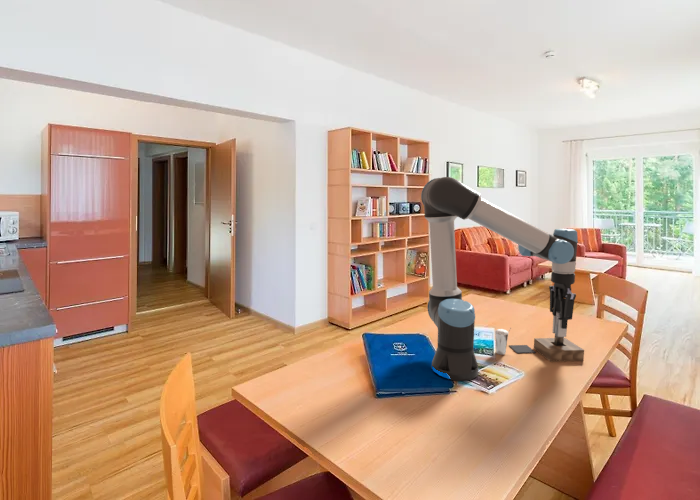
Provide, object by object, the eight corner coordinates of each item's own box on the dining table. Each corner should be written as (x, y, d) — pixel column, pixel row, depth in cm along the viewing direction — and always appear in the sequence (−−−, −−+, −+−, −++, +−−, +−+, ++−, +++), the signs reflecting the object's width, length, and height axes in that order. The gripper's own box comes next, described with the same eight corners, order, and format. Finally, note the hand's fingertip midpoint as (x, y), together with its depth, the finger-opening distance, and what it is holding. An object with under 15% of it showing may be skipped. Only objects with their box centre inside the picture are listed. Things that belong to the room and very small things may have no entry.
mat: (517, 353, 148) (517, 352, 148) (509, 346, 155) (509, 345, 155) (535, 353, 148) (535, 352, 148) (526, 345, 155) (526, 344, 155)
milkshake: (510, 356, 145) (512, 329, 144) (495, 355, 146) (496, 329, 145) (508, 351, 150) (509, 325, 148) (493, 350, 151) (494, 325, 149)
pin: (556, 351, 145) (559, 314, 143) (552, 347, 148) (554, 311, 146) (564, 350, 145) (567, 313, 143) (560, 347, 148) (562, 311, 146)
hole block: (550, 361, 140) (550, 350, 140) (533, 348, 152) (534, 338, 152) (583, 360, 141) (584, 349, 140) (564, 347, 153) (565, 337, 152)
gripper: (587, 276, 134) (582, 342, 138) (561, 267, 150) (557, 327, 154) (565, 276, 134) (561, 343, 138) (541, 268, 150) (538, 327, 153)
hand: (559, 334), depth 146 cm, fingers closed on pin, 3 cm apart
